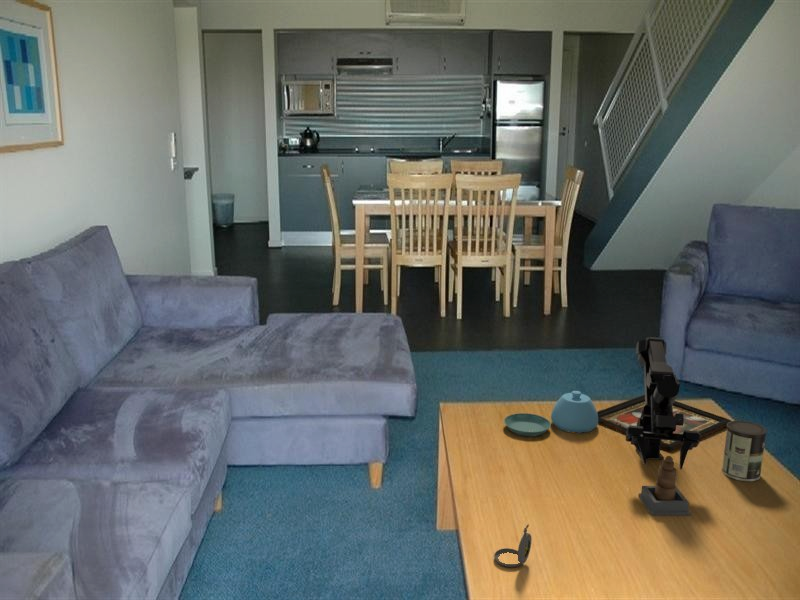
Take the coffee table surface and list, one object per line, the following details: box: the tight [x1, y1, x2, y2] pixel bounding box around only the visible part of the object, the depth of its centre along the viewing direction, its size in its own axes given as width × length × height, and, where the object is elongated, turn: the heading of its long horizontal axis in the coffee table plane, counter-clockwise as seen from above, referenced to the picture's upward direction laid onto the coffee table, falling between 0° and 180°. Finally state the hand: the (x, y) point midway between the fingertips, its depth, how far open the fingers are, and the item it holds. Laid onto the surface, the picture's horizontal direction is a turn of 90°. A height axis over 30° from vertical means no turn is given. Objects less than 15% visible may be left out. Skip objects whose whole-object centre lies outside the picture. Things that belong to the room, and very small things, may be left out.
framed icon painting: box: [597, 394, 732, 453], centre depth 254 cm, size 38×35×3 cm
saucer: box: [503, 412, 552, 437], centre depth 247 cm, size 15×15×3 cm
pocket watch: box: [493, 524, 532, 568], centre depth 174 cm, size 8×8×10 cm
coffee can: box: [721, 420, 768, 482], centre depth 218 cm, size 10×10×14 cm
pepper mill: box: [654, 455, 678, 501], centre depth 199 cm, size 5×5×13 cm
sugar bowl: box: [550, 390, 599, 434], centre depth 250 cm, size 15×15×12 cm
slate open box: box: [637, 485, 692, 517], centre depth 201 cm, size 10×10×3 cm
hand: (663, 466), depth 206 cm, fingers open, 9 cm apart
